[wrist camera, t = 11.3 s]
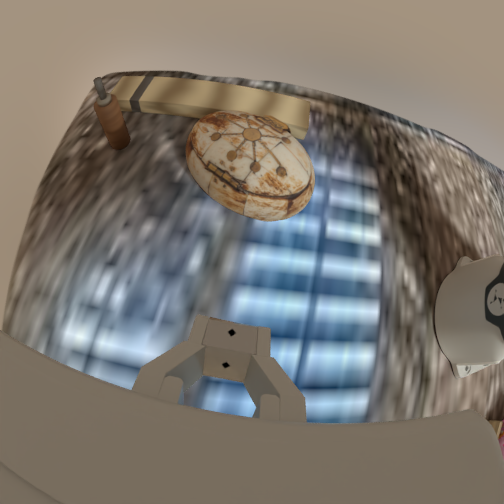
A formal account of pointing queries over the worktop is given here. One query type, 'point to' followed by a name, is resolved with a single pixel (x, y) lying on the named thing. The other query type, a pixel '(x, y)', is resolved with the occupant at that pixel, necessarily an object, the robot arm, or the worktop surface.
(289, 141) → the trinket box
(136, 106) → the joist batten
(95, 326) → the worktop surface
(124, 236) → the worktop surface
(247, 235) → the worktop surface
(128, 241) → the worktop surface
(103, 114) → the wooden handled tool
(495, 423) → the pencil case cradle
